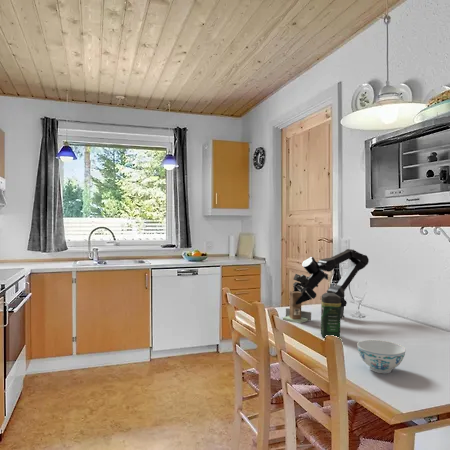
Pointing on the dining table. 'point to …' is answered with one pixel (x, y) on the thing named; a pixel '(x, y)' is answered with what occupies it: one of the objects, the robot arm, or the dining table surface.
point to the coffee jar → (330, 314)
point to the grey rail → (303, 314)
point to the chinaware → (381, 354)
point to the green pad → (295, 319)
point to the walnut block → (295, 305)
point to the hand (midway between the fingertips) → (292, 302)
